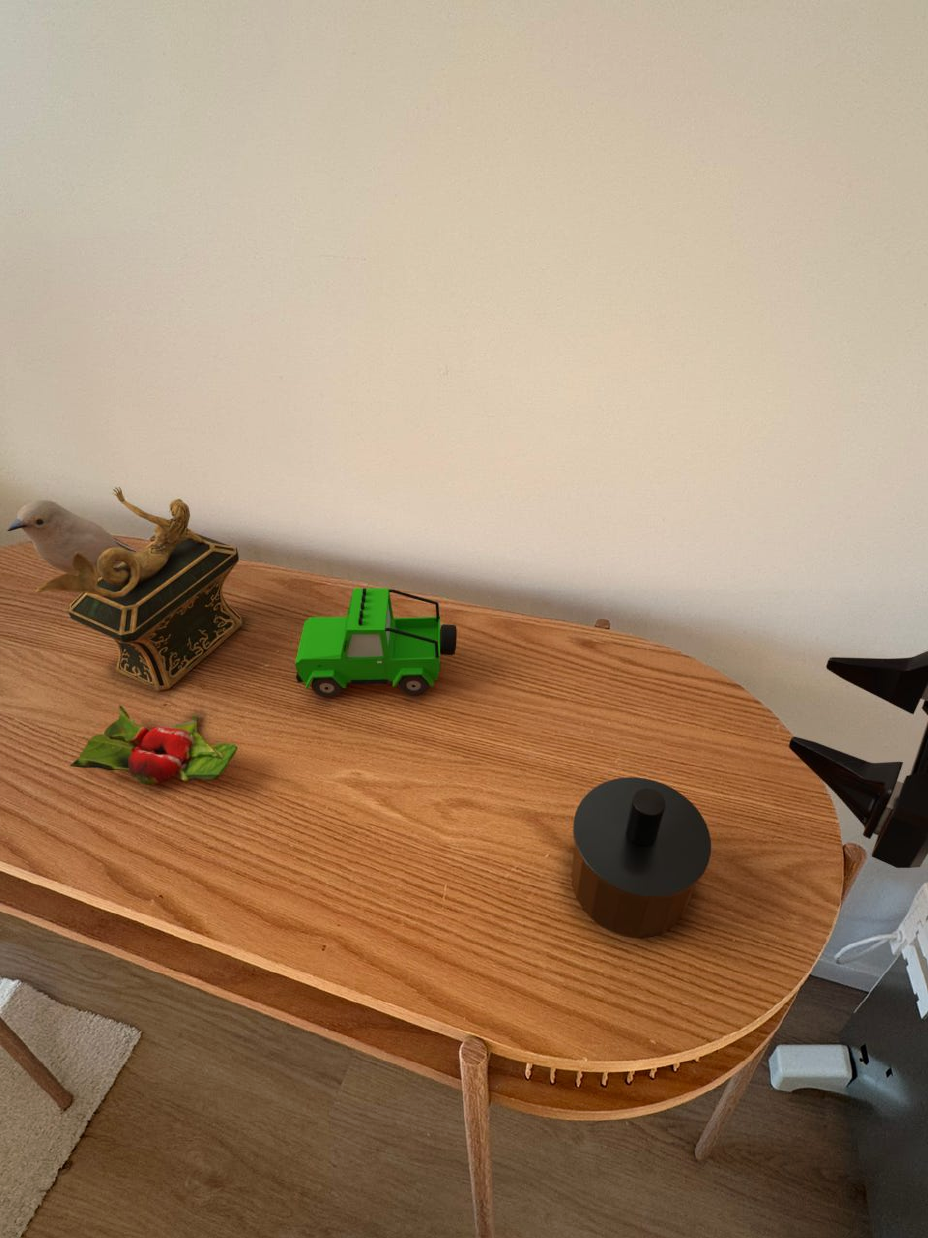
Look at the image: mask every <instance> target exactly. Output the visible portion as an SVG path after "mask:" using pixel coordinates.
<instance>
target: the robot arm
mask: <svg viewBox="0 0 928 1238" xmlns="http://www.w3.org/2000/svg"><path fill="white" fill-rule="evenodd" d="M825 668H826V670H828V671H829V672H831V673H832V674H834V675H836V676H837V677H839V678H841V679H843V680H844V681H846V682H847V683H850V684H852V685H854V686H856V687H858V688H860V689H862V690H864V691H866V692H867V693H870V694H871V695H874V696H875V697H877V698H879V699H881V700H884V701H885V702H887V703H889V704H891V705H893V706H894V707H897V708H899V709H900V710H902V711H905V712H907V713H909V714H911V715H914V714H915V713H916V710H917V707H918V706H919V703H920V702H921V700H923V703H922V706H921V709H922V711H923V712H924V713H925V714H926V715H927V716H928V650H926V651H924V652H921V653H918V654H916V655H913V656H910V657H896V658H895V657H894V658H877V657H875V658H874V657H846V656H845V657H844V656H843V657H842V656H841V657H840V656H831V657H829V658H828V659H827V662H826V666H825ZM788 748H789V749H790V751H791V752H792V753H793V754H795V755H796V756H797V757H798V758H799V759H800V761H802V762H803V763H804V764H805V765H806V766H807V767H808V768H809V769H810V770H811V771H812V772H813V773H814V774H815V775H816V776H817V777H818V778H819V779H820V780H821V781H822V782H824V783H825V785H826V786H827V787H828V788H829V789H830V790H831V791H833V792H834V794H835V795H836V796H837V797H838V798H839V800H841V802H842V803H843V804H844V805H845V806H846V807H847V809H849V811H850V812H851V813H852V814H853V815H854V817H855V818H856V819H857V820H858V821H859V822H860V824H862V826H863V827H864V830H863V833H862V836H863V837H864V838H867V839H869V840H871V839H872V837H873V835H876V836H877V838H876V840H875V843H874V846H873V849H872V852H871V857H872V858H874V859H876V860H879V861H881V862H883V863H884V864H887V865H890V866H892V867H894V868H896V869H915V868H920V867H922V864H923V863H924V861H925V860H926V857H927V856H928V721H926V725H925V728H924V731H923V734H922V736H921V740H920V743H919V746H918V749H917V751H916V752H917V753H916V755H915V759H914V761H913V765H912V767H911V770H910V773H909V775H906V776H905V777H904V780H903V782H901V781H899V780H898V779H899V777H900V773H901V770H902V769H903V764H904V762H903V761H886V762H870V761H867V760H864V759H862V758H860V757H857V756H853V755H851V754H849V753H846V752H843V751H840V750H837V749H835V748H832V747H830V746H827V745H825V744H822V743H819V742H817V741H813V740H809V739H806V738H802V737H799V736H792V737H791V738H790V740H789V744H788Z"/></svg>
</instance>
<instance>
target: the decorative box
mask: <svg viewBox="0 0 928 1238" xmlns="http://www.w3.org/2000/svg"><path fill="white" fill-rule="evenodd" d="M112 490H113V491H114V492H115V493H114V492H112V494H113V495H114V496H115V497H116V498H117V499H118V501H119V502H120V503H121V504H122V505H124V506H125V507H126V508H127V509H129V511H130V512H132V513H134V514H135V515H136V516H138V517H139V518H143V519H144V520H146V521H148V522H151V523H153V524H155V525H156V526H155V527H154V532H155V538H154V541H152V542H150V543H149V544H147V545H145V547H142V548H140V549H139V550H137V552H135V553H134V554H132V553H131V552H130V551H128V550H126V549H123V548H110V549H107V550H106V551H104V552H103V553H102V554H101V555H100V557H99V559H98V562H97V570H98V572H99V574H100V576H101V577H99V578H98V573H97V570H96V567H95V566H94V565H93V563H92V562H91V561H90V560H89V559H88V558H86V557H85V556H84V555H82V554H81V553H79V552H76V553H75V554H74V556H73V562H72V565H73V568H74V569H75V570H76V571H77V573H78V574H77V575H74V574H72V573H67V572H65V573H63V574H60V575H58V576H56V577H53V578H52V579H49V580H48V581H45V582H44V583H42V584H41V585H40V586H38V587H37V589H36V591H35V593H36V594H39V593H42V592H46V591H60V592H66V593H77V594H79V595H77V597H76V598H75V599H74V600H73V601H72V602H71V603H70V604H69V606H68V610H67V614H68V616H70V617H69V618H70V619H71V620H72V621H74V622H76V623H79V624H80V625H83V626H84V627H85V626H86V627H88V628H89V629H92V630H94V631H97V632H99V633H101V634H103V635H105V636H107V637H109V638H112V639H113V640H114V641H115V643H116V645H117V647H118V657H117V660H116V661H117V662H116V671H117V673H120V674H122V675H124V676H125V677H128V678H130V679H133V680H134V681H136V682H138V683H141V684H143V685H145V686H147V687H149V688H151V689H154V690H155V691H158V692H159V691H165V690H169V689H171V687H173V686H174V685H175V684H176V683H178V682H179V681H181V679H182V678H183V677H185V676H186V675H187V674H188V673H189V672H190V671H191V670H192V669H194V668H195V667H196V666H198V665H199V663H201V662H202V661H203V660H204V659H205V658H206V657H208V656H209V655H210V654H211V653H213V651H215V650H216V649H217V648H218V647H219V646H220V645H221V644H222V643H223V642H224V641H226V640H227V639H228V638H229V637H231V635H233V634H234V633H235V632H236V631H238V630H239V629H240V628H241V627H242V626H243V619H242V617H241V616H240V615H239V614H238V612H236V611H235V610H234V609H233V608H232V607H231V606H230V605H229V603H228V602H227V601H226V599H225V596H224V594H223V588H224V584H225V581H226V580H227V579H226V578H227V577H228V576H229V574H230V573H231V572H232V571H233V569H234V567H236V565H237V564H238V562H239V560H240V556H239V555H240V554H239V551H238V548H237V547H235V546H233V545H231V544H227V543H224V542H222V541H219V540H217V539H213V538H210V537H207V536H204V535H202V534H199V533H197V532H194V530H192V529H190V528H188V527H189V523H190V519H191V512H190V508H189V506H188V504H187V503H185V502H184V501H183V500H182V499H181V498H176V499H174V500H172V501H171V502H170V503H169V511H170V513H171V515H170V516H172V518H169V519H167V518H165V517H162V516H156V515H153V514H151V513H148V512H146V511H144V510H143V509H141V508H140V507H138V506H137V505H134V504H132V503H130V502H128V501H127V500H126V499H125V497H124V494H123V490H122V489H121V487H120V486H119V487H116V486H115V487H114V488H113V489H112ZM116 561H123V563H121V564H120V565H118V566H117V567H113V565H114V563H115V562H116Z"/></svg>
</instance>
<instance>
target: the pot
mask: <svg viewBox="0 0 928 1238" xmlns="http://www.w3.org/2000/svg"><path fill="white" fill-rule="evenodd" d="M570 877H571V884H572V889H573V892H574V896H575V897H576V899H577V901H578V904H579V906H580V907H581V908H582V910H583V911H584V912H585V913H586V914H587V916H588V917H589V918H590V919H591V920H592V921H594V922H595V923H596V924H597V925H599V926H600V927H602V928H604V929H605V930H608V931H609V932H611V933H614V934H616V935H619V936H622V937H627V938H633V939H637V938H638V939H644V938H645V939H646V938H651V937H656V936H659V935H661V934H664V933H666V932H668V931H669V930H670V929H672V928H673V927H675V926H676V924H678V922H679V921H680V920H681V918H682V917H683V915H684V914H685V912H686V909H687V907H688V906H689V903H690V901H691V898H692V895H693V893H694V890H695V888H696V885H697V883H696V884H695V885H693V886H692V887H691V888H690V889H688V890H686V891H685V892H683V893H681V894H678V895H676V896H673V897H668V898H664V899H642V898H636V897H632V896H629V895H625V894H623V893H621V892H618V891H616V890H614V889H612V888H610V887H609V886H607V885H606V884H604V883H603V882H601V881H600V880H599V879H598V878H597V877H596V876H594V875H593V874H592V872H591V871H590V870H589V869H588V868H587V867H586V865H585V864H584V862H583V861H582V859H581V857H580V855H579V853H578V851H577V848H576V846H574V853H573V860H572V867H571V872H570Z"/></svg>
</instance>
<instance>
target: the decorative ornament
mask: <svg viewBox="0 0 928 1238" xmlns="http://www.w3.org/2000/svg"><path fill="white" fill-rule="evenodd" d="M118 711H119V715H118V719H116V720H115V721H114V722H112V723H111V724H110V725H109V726H107V727H106V728H105V730H104V731H103V734H102V733H98V734H95V735H93V736H91V737H90V739H89V740H88V741H87V743H86V745H85V746H84V748H83V750H82V751H81V754H80V755H79V756H78V758H77V759H76V760H75V761H73V762H72V763H70V767H72V768H83V769H95V768H97V769H102V770H106V771H124V772H129V773H130V776H131V777H132V778H134V779H135V781H136V782H138V783H141V784H142V785H145V786H150V787H152V786H155V785H158V784H160V783H162V782H164V781H166V780H167V779H170V778H172V777H173V776H174V775H175V774H176V773H178V778H180V779H181V781H184V782H188V781H192V780H205V781H214V780H215V781H216V780H217V779H218V778H220V777H221V775H222V774H223V773H224V772H225V771H226V769H227V768H228V766H229V764H230V762H231V761H232V759H233V758H234V756H235V754H236V753H237V751H238V746H237V745H236V744H232V743H224V742H222V743H218V744H213V745H210V744H208V743H207V741H206V739H205V737H204V736H203V735H201V734H200V733H198V723H199V722H198V721H199V716H198V715H197V714H194V715H193V716H192V718H191V719H190V720H189V721H186V722H181V723H177V724H174V725H172V726H171V725H170V726H169V727H166V726H156V727H153V728H152V729H149V730H148V728H147V727H145V726H142V725H140V724H139V723H137V722H135V720H134V719H133V718H131V717H130V716H129V714H128V713H127V711H126V710H125V708H124V707H123V706H122V705H119V706H118ZM190 749H191V750H190Z"/></svg>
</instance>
